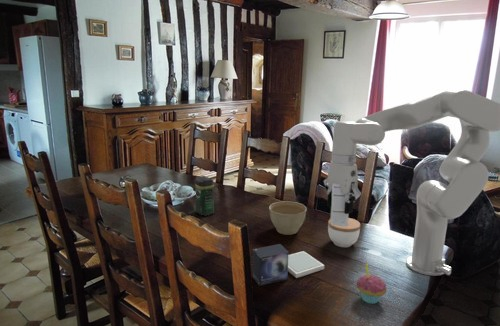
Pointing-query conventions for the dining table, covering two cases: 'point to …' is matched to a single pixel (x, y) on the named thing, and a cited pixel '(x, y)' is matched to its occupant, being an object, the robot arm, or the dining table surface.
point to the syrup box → (338, 207)
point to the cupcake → (371, 287)
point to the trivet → (303, 264)
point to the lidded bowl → (344, 233)
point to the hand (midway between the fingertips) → (339, 208)
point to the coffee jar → (204, 195)
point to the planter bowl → (287, 216)
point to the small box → (270, 264)
